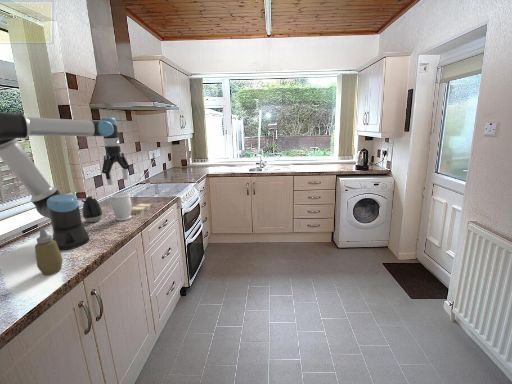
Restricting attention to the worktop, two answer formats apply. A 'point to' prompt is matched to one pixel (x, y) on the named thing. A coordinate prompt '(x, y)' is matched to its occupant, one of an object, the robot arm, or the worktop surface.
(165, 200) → the worktop surface
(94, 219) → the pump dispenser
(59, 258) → the squeeze bottle
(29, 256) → the worktop surface
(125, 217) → the white cup
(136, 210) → the birch trivet
